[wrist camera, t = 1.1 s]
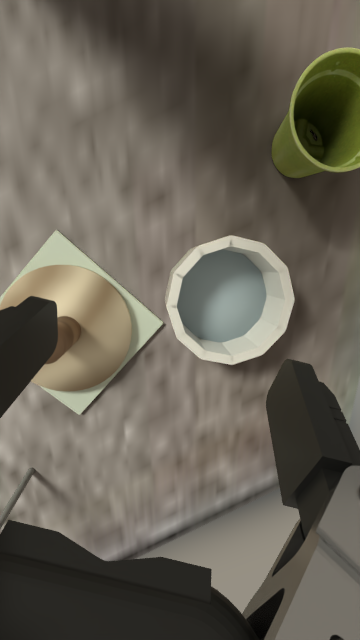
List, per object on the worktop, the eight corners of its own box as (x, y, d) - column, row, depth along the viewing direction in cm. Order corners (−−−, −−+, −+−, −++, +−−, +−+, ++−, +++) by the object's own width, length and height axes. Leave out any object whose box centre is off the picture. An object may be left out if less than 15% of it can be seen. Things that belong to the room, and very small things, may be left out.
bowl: (144, 300, 35) (141, 308, 29) (217, 218, 33) (230, 208, 28) (220, 366, 37) (232, 386, 31) (291, 292, 36) (317, 298, 30)
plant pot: (289, 211, 34) (333, 194, 26) (239, 145, 32) (268, 104, 24) (350, 155, 33) (416, 118, 25) (302, 84, 31) (356, 19, 23)
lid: (-25, 334, 33) (-76, 354, 26) (57, 236, 32) (27, 228, 25) (78, 409, 36) (58, 447, 29) (157, 323, 35) (157, 339, 28)
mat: (-29, 333, 34) (-31, 334, 33) (57, 230, 32) (56, 229, 32) (80, 413, 37) (79, 415, 36) (163, 322, 35) (163, 323, 35)
